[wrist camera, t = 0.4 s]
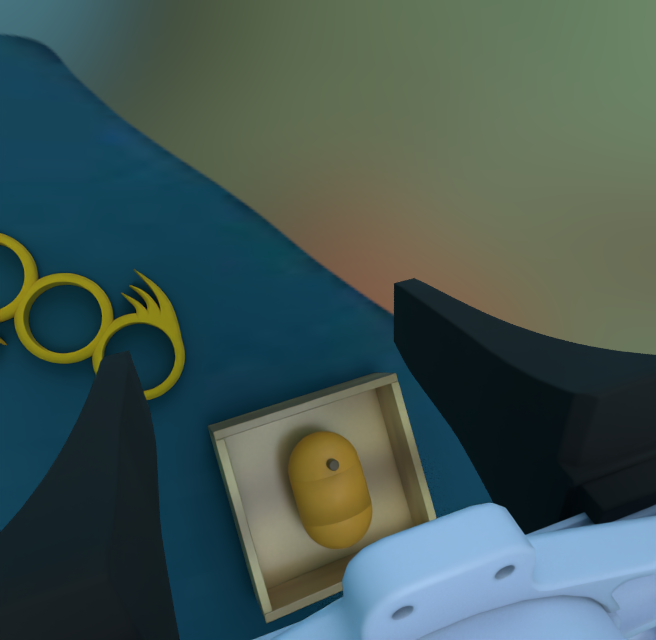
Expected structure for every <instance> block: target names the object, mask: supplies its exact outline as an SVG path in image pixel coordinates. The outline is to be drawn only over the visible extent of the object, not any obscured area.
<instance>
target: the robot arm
mask: <svg viewBox="0 0 656 640" xmlns="http://www.w3.org/2000/svg"><path fill="white" fill-rule="evenodd" d="M394 342H395V344H396V346H397V348H398V350H399V352H400V354H401V356H402V358H403V360H404V362H405V363H406V365H407V367H408V369H409V370H410V372H411V373H412V375H413V376H414V377H415V379H416V380H417V382H418V383H419V384H420V386H421V387H422V389H423V390H424V391H425V393H426V394H427V395H428V397H429V398H430V399H431V401H432V402H433V403H434V405H435V406H436V408H437V409H438V410H439V412H440V413H441V414H442V416H443V417H444V418H445V420H446V421H447V423H448V424H449V425H450V427H451V428H452V430H453V431H454V433H455V434H456V436H457V437H458V439H459V441H460V442H461V444H462V446H463V448H464V449H465V451H466V453H467V455H468V456H469V458H470V460H471V462H472V463H473V465H474V467H475V469H476V471H477V473H478V475H479V476H480V478H481V480H482V482H483V484H484V486H485V488H486V489H487V491H488V493H489V495H490V497H491V499H492V501H493V503H485V504H479V505H474V506H470V507H467V508H464V509H462V510H459V511H456V512H453V513H451V514H448V515H445V516H442V517H440V518H437V519H434V520H431V521H428V522H426V523H423V524H420V525H417V526H415V527H412V528H409V529H406V530H404V531H401V532H398V533H395V534H392V535H390V536H387V537H384V538H382V539H380V540H378V541H376V542H374V543H372V544H370V545H368V546H366V547H365V548H363V549H362V550H361V551H360V552H359V553H358V554H357V555H356V556H355V557H354V558H353V559H352V560H351V561H350V562H349V563H348V565H347V567H346V570H345V573H344V576H343V579H342V584H343V597H341V598H340V599H338V600H336V601H334V602H333V603H331V604H329V605H328V606H326V607H324V608H323V609H321V610H319V611H318V612H316V613H314V614H312V615H311V616H309V617H307V618H306V619H304V620H302V621H300V622H298V623H295V624H292V625H290V626H287V627H284V628H282V629H279V630H277V631H274V632H271V633H269V634H266V635H264V636H261V637H258V638H256V639H253V640H656V355H650V354H641V353H632V352H622V351H615V350H609V349H603V348H597V347H591V346H587V345H582V344H577V343H573V342H569V341H565V340H561V339H556V338H553V337H549V336H546V335H542V334H539V333H536V332H533V331H530V330H527V329H524V328H521V327H518V326H516V325H513V324H510V323H508V322H505V321H503V320H500V319H498V318H496V317H493V316H491V315H489V314H486V313H484V312H482V311H480V310H477V309H475V308H473V307H471V306H469V305H467V304H465V303H463V302H461V301H459V300H457V299H455V298H453V297H451V296H449V295H447V294H445V293H443V292H441V291H439V290H437V289H435V288H433V287H431V286H429V285H427V284H426V283H424V282H421V281H419V280H417V279H415V278H413V279H409V280H405V281H401V282H398V283H394ZM0 640H180V639H179V634H178V628H177V623H176V617H175V612H174V606H173V601H172V595H171V589H170V583H169V577H168V572H167V565H166V559H165V553H164V547H163V541H162V534H161V524H160V510H159V491H158V471H157V453H156V441H155V435H154V429H153V424H152V419H151V413H150V408H149V406H148V403H147V400H146V397H145V394H144V392H143V389H142V386H141V383H140V380H139V378H138V375H137V372H136V369H135V366H134V364H133V361H132V358H131V355H130V352H129V351H125V352H121V353H117V354H113V355H109V356H105V357H103V359H102V360H101V361H100V364H99V368H98V371H97V374H96V377H95V379H94V382H93V385H92V387H91V390H90V392H89V395H88V397H87V400H86V402H85V404H84V406H83V409H82V411H81V413H80V415H79V418H78V420H77V422H76V424H75V426H74V428H73V429H72V431H71V433H70V435H69V437H68V439H67V441H66V443H65V445H64V446H63V448H62V450H61V452H60V453H59V455H58V457H57V458H56V460H55V462H54V463H53V465H52V466H51V468H50V469H49V471H48V472H47V474H46V475H45V477H44V478H43V480H42V481H41V483H40V484H39V485H38V487H37V488H36V489H35V491H34V492H33V494H32V495H31V496H30V498H29V499H28V500H27V502H26V503H25V504H24V505H23V507H22V508H21V509H20V510H19V512H18V513H17V514H16V515H15V516H14V517H13V519H12V520H11V521H10V522H9V523H8V524H7V525H6V527H5V528H4V529H3V530H2V531H1V532H0Z"/></svg>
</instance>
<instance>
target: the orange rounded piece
mask: <svg viewBox="0 0 656 640" xmlns="http://www.w3.org/2000/svg"><path fill="white" fill-rule="evenodd" d="M288 474H289V479H290V483H291V487H292V490H293V494H294V497H295V501H296V504H297V508H298V512H299V515H300V519H301V522H302V524H303V527H304V529H305V531H306V532H307V534H308V536H309V537H310V538H311V539H312V540H313V541H315V542H316V543H318V544H319V545H321V546H323V547H326V548H329V549H344V548H347V547H350V546H352V545H354V544H355V543H357V542H358V541H359V540H361V539H362V538H363V536H364V535H365V534H366V532H367V531H368V529H369V526H370V524H371V520H372V512H373V508H372V502H371V498H370V494H369V491H368V487H367V483H366V480H365V476H364V473H363V469H362V466H361V462H360V458H359V456H358V453H357V451H356V449H355V448H354V446H353V445H352V444H351V443H350V442H349V441H348V440H347V439H346V438H344V437H343V436H341V435H339V434H337V433H334V432H329V431H319V432H315V433H312V434H309V435H308V436H306V437H304V438H303V439H302V440H301V441H300V442H298V443H297V445H296V446H295V448H294V449H293V451H292V453H291V455H290V459H289V464H288Z"/></svg>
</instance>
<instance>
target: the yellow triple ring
mask: <svg viewBox="0 0 656 640" xmlns="http://www.w3.org/2000/svg"><path fill="white" fill-rule="evenodd" d="M0 245H2V246H6V247H8V248H10V249H12V250H13V251H15V253H16V254H17V255H18V256H19V258H20V260H21V262H22V264H23V267H24V273H25V278H24V284H23V287H22V290H21V291H20V293H19V295H18V296H17V297H16V299H15V300H14V301H12V302H11V303H10V304H9V305H7V306H5V307H4V308H2V309H0V322H3V321H6V320H9V319H11V318H13V317H14V324H15V329H16V332H17V335H18V337H19V339H20V341H21V342H22V344H23V345H24V346H25V347H26V349H27V350H29V351H30V352H31V353H32V354H34V355H35V356H37V357H39V358H40V359H43V360H45V361H49V362H53V363H61V364H67V363H75V362H79V361H82V360H85V359H87V358H89V357H91V356H92V363H93V368H94V372H95V374H97V371H98V368H99V364H100V361H101V360H102V359H103V357H104V352H105V348H106V345H107V343H108V341H109V340H110V338H111V337H112V336H113V335H114V334H115V333H116V332H117V331H118V330H120V329H121V328H123V327H126V326H128V325H132V324H148V325H152V326H155V327H157V328H159V329H160V330H162V331H163V332H164V333H165V334H166V335H167V336H168V337H169V339H170V340H171V342H172V345H173V347H174V351H175V362H174V367H173V369H172V371H171V373H170V375H169V376H168V378H167V379H166V380H165V381H164V382H163V383H162V384H160V385H158V386H157V387H155V388H153V389H150V390H146V391H143V392H144V394H145V397H146V400H150V399H154V398H156V397H158V396H161V395H162V394H164V393H165V392H167V391H168V390H169V389H170V388H171V387H172V386H173V385H174V384H175V383H176V382H177V380H178V379H179V377H180V375H181V373H182V370H183V367H184V362H185V350H184V345H183V342H182V337H181V332H180V328H179V324H178V320H177V317H176V314H175V311H174V309H173V307H172V305H171V303H170V301H169V299H168V298H167V296H166V295H165V294H164V292H163V291H162V290H161V289H160V288H159V287H158V286H157V285H156V284H155V283H153V282H152V281H151V280H150V279H148V278H147V277H145V276H144V275H142V274H141V273H139V272H138V271H136V270H135V269H134V271H135V272H136V273H137V274H138V275H139V276H140V277H141V278H142V279H143V281H144V282H145V283H146V284H147V285H148V286H149V288H150V289H151V290H152V292H153V293H154V295H155V296H156V298H157V300H158V302H159V305H160V309H159V307H158V305H157V304H156V303H155V301H154V300H153V299H152V298H151V297H150V296H149V295H148V294H147V293H146V292H144V291H143V290H141V289H139V288H137V287H134V286H131V285H129V287H130V288H132V289H133V290H134V291H135V292H137V293H138V294H139V295H140V296H141V297H142V298H143V299H144V301H145V302H146V304H147V310H146V309H145V307H144V306H143V305H142V304H140V303H139V302H138V301H136V300H135V299H133V298H131V297H129V296H127V295H125V294H123V293H121V294H122V295H123V296H124V297H125V298H126V299H127V300H128V301H129V302H130V303H131V304H132V305H133V306H134V307H135V309H136V313H132V314H127V315H124V316H121V317H119V318H117V319H115V320H114V316H113V309H112V305H111V303H110V300H109V299H108V297H107V295H106V294H105V292H104V291H103V290H102V289H101V288H100V287H99V286H98V285H97V284H96V283H94V282H93V281H91V280H89V279H88V278H85V277H83V276H80V275H77V274H71V273H57V274H52V275H48V276H45V277H43V278H41V279H39V280H38V271H37V267H36V264H35V261H34V259H33V257H32V256H31V254H30V253H29V252H28V250H27V249H26V248H25V247H24V246H23V245H22V244H20V243H19V242H18V241H16V240H15V239H13V238H11V237H9V236H7V235H5V234H2V233H0ZM59 285H75V286H79V287H82V288H84V289H86V290H88V291H89V292H91V293H92V294H93V295H94V296H95V297H96V299H97V300H98V302H99V304H100V307H101V310H102V324H101V327H100V330H99V332H98V334H97V336H96V337H95V339H94V340H93V341H92V342H91V343H90V344H89V345H87V346H86V347H84V348H83V349H81V350H78V351H76V352H72V353H64V354H60V353H55V352H52V351H49V350H47V349H46V348H44V347H43V346H41V345H40V344H39V343H38V342H37V341H36V340H35V338H34V337H33V335H32V333H31V331H30V327H29V320H28V319H29V312H30V309H31V306H32V304H33V303H34V301H35V300H36V298H37V297H38V296H39V295H40V294H42V293H43V292H44V291H46V290H48V289H50V288H52V287H54V286H59ZM0 343H1V344H4V345H7V344H6V343H5V342H4V341H3V340H2V339H1V338H0Z"/></svg>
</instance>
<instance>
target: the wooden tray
mask: <svg viewBox="0 0 656 640" xmlns="http://www.w3.org/2000/svg"><path fill="white" fill-rule="evenodd" d="M208 429H209V433H210V436H211V440H212V443H213V447H214V450H215V454H216V458H217V461H218V465H219V468H220V472H221V475H222V479H223V482H224V486H225V490H226V493H227V497H228V500H229V504H230V507H231V511H232V514H233V518H234V522H235V525H236V529H237V532H238V536H239V539H240V543H241V547H242V550H243V554H244V557H245V561H246V564H247V568H248V571H249V575H250V579H251V582H252V586H253V589H254V593H255V596H256V600H257V602H258V604H259V607H260V609H261V612H262V614H263V616H264V619H265V621H266V623H269V622H271V621H273V620H276V619H278V618H280V617H283V616H285V615H287V614H290V613H292V612H294V611H296V610H299V609H301V608H303V607H306V606H308V605H310V604H313V603H315V602H317V601H319V600H322V599H324V598H326V597H329V596H331V595H333V594H336V593H338V592H340V591H342V590H343V584H342V579H343V576H344V573H345V570H346V567H347V565H348V563H349V562H350V561H351V560H352V559H353V558H354V557H355V556H356V555H357V554H358V553H359V552H360V551H361V550H362V549H363V548H365V547H366V546H368V545H370V544H372V543H374V542H376V541H378V540H380V539H382V538H384V537H387V536H390V535H392V534H395V533H398V532H401V531H404V530H406V529H409V528H412V527H415V526H417V525H420V524H423V523H426V522H428V521H431V520H434V519H437V518H436V515H435V511H434V507H433V504H432V500H431V497H430V493H429V490H428V486H427V483H426V479H425V475H424V472H423V468H422V465H421V461H420V458H419V454H418V450H417V447H416V443H415V440H414V436H413V433H412V429H411V425H410V422H409V418H408V415H407V411H406V408H405V404H404V400H403V397H402V393H401V390H400V386H399V383H398V379H397V375H396V373H372V374H369V375H366V376H363V377H360V378H357V379H354V380H350V381H347V382H344V383H341V384H338V385H335V386H332V387H328V388H325V389H322V390H319V391H316V392H313V393H310V394H306V395H303V396H300V397H297V398H294V399H291V400H288V401H284V402H281V403H278V404H275V405H272V406H269V407H266V408H263V409H259V410H256V411H253V412H250V413H247V414H244V415H241V416H237V417H234V418H231V419H228V420H225V421H222V422H219V423H215V424H212V425H209V426H208ZM319 431H329V432H334V433H337V434H339V435H341V436H343V437H344V438H346V439H347V440H348V441H349V442H350V443H351V444H352V445H353V446H354V448H355V449H356V451H357V453H358V456H359V458H360V462H361V466H362V469H363V473H364V476H365V480H366V483H367V487H368V491H369V494H370V498H371V502H372V508H373V512H372V520H371V524H370V526H369V529H368V531H367V532H366V534H365V535H364V536H363V538H362V539H361V540H359V541H358V542H357V543H355V544H354V545H352V546H350V547H347V548H344V549H329V548H326V547H323V546H321V545H319V544H318V543H316V542H315V541H313V540H312V539H311V538H310V537H309V536H308V534H307V532H306V531H305V529H304V527H303V524H302V522H301V519H300V515H299V512H298V508H297V504H296V501H295V497H294V494H293V490H292V487H291V483H290V479H289V474H288V464H289V459H290V455H291V453H292V451H293V449H294V448H295V446H296V445H297V443H298V442H300V441H301V440H302V439H303V438H304V437H306V436H308V435H309V434H312V433H315V432H319Z"/></svg>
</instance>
